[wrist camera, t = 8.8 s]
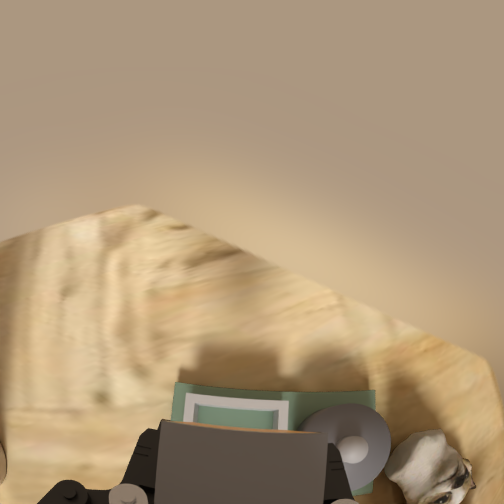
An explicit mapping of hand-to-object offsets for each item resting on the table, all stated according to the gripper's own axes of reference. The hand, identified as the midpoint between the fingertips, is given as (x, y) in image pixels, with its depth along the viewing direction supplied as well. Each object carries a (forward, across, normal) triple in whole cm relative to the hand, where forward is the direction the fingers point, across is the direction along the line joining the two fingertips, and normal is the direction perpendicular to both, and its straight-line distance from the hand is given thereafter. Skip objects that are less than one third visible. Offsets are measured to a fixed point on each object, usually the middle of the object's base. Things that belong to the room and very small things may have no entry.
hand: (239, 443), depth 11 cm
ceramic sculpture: (+8, -21, +18) cm, 29 cm away
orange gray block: (+2, 0, +4) cm, 5 cm away
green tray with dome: (+12, -4, +14) cm, 18 cm away
